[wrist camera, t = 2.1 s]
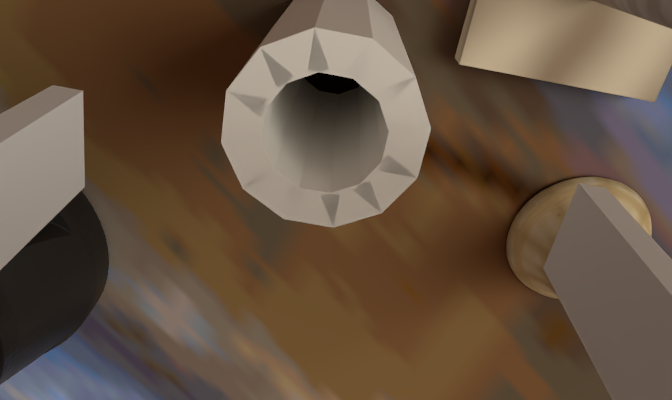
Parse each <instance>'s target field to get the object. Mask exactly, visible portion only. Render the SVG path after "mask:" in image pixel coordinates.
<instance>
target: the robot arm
mask: <svg viewBox="0 0 672 400" xmlns="http://www.w3.org/2000/svg"><path fill="white" fill-rule="evenodd" d="M84 187H85V169H84V115H83V91H82V90H77V89H71V88H66V87H60V86H55V85H52V86H50V87H48V88H47V89H45V90H43V91H41V92H39V93H37V94H36V95H34V96H32V97H30V98H28V99H27V100H25V101H23V102H21V103H19V104H18V105H16V106H14V107H12V108H10V109H8V110H7V111H5V112H3V113H1V114H0V384H2V383H3V382H5V381H6V380H8V379H9V378H10V377H12V376H13V375H15V374H16V373H18V372H19V371H20V370H22V369H23V368H25V367H26V366H27V365H29V364H30V363H32V362H33V361H34V360H36V359H37V358H39V357H40V356H41V355H43V354H44V353H46V352H48V351H50V350H52V349H53V348H55V347H57V346H58V345H60V344H61V343H63V342H64V341H66V340H67V339H68V338H69V337H70V336H71V335H72V334H74V332H75V331H76V330H77V329H78V328H79V327H80V326H81V325H82V323H83V322H84V321H85V319H86V318H87V316H88V315H89V313H90V312H91V310H92V309H93V307H94V306H95V304H96V303H97V301H98V300H99V298H100V296H101V294H102V292H103V290H104V287H105V284H106V280H107V275H108V266H109V257H108V247H107V242H106V238H105V235H104V231H103V228H102V226H101V223H100V221H99V219H98V217H97V215H96V213H95V211H94V209H93V207H92V206H91V204H90V202H89V201H88V199H87V198H86V197H85V195H84V194H83V193H82V191H81V190H82V189H83V188H84ZM543 269H544V271H545V273H546V275H547V277H548V278H549V280H550V282H551V284H552V286H553V288H554V290H555V292H556V294H557V296H558V297H559V299H560V301H561V303H562V305H563V307H564V309H565V311H566V313H567V315H568V317H569V318H570V320H571V322H572V324H573V326H574V328H575V330H576V332H577V334H578V336H579V337H580V339H581V341H582V343H583V345H584V347H585V349H586V351H587V353H588V355H589V357H590V358H591V360H592V362H593V364H594V366H595V368H596V370H597V372H598V374H599V376H600V377H601V379H602V381H603V383H604V385H605V387H606V389H607V391H608V393H609V395H610V397H611V398H612V400H672V259H671V258H670V257H669V256H668V255H667V254H666V253H665V252H664V251H663V250H662V249H661V247H660V246H659V245H658V244H657V243H656V242H655V241H654V240H653V239H652V238H651V236H650V235H649V234H648V233H647V232H646V231H645V230H644V229H643V228H642V227H641V226H640V224H639V223H638V222H637V221H636V220H635V219H634V218H633V217H632V216H631V215H630V213H629V212H628V211H627V210H626V209H625V208H624V207H623V206H622V205H621V204H620V202H619V201H618V200H617V199H616V198H615V197H614V196H613V195H612V194H611V193H610V192H609V190H608V189H607V188H604V187H598V186H593V185H588V184H582V183H578V185H577V188H576V190H575V193H574V195H573V197H572V200H571V202H570V205H569V207H568V209H567V212H566V214H565V217H564V219H563V222H562V224H561V226H560V229H559V231H558V234H557V236H556V238H555V241H554V243H553V246H552V248H551V250H550V253H549V255H548V258H547V260H546V262H545V265H544V267H543Z"/></svg>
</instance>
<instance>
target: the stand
mask: <svg viewBox="0 0 672 400" xmlns="http://www.w3.org/2000/svg"><path fill="white" fill-rule="evenodd" d="M455 59H456V60H457V62H458V63H459V64H460V65H465V66H470V67H476V68H481V69H486V70H491V71H496V72H502V73H507V74H512V75H517V76H522V77H527V78H533V79H538V80H543V81H548V82H553V83H559V84H564V85H569V86H574V87H579V88H584V89H590V90H595V91H600V92H605V93H610V94H616V95H621V96H626V97H631V98H636V99H642V100H647V101H652V102H655V100H656V98H657V96H658V94H659V91H660V89H661V87H662V85H663V83H664V80H665V78H666V76H667V74H668V71H669V69H670V67H671V65H672V0H470V3H469V7H468V10H467V14H466V18H465V21H464V25H463V29H462V32H461V36H460V39H459V43H458V47H457V50H456V54H455Z"/></svg>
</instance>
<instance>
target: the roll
mask: <svg viewBox="0 0 672 400" xmlns="http://www.w3.org/2000/svg"><path fill="white" fill-rule="evenodd" d="M318 72H320V73H325V74H331V75H336V76H341V77H347V78H352V79H354V80H355V81H356V82H357V83H359V84H360V86H359V87H358V88H355V89H352V90H349V91H347V92H344V93H341V94H335V93H330V92H324V91H319V90H318V89H316V88H315V87H314V86H313V85H312V84H310V83H309V82H308V81H307V80H306V79H304V77H307V76H309V75H312V74H315V73H318ZM430 130H431V127H430V124H429V120H428V117H427V114H426V110H425V107H424V103H423V100H422V97H421V93H420V90H419V87H418V83H417V80H416V77H415V74H414V71H413V69H412V66H411V64H410V61H409V58H408V56H407V53H406V51H405V48H404V45H403V43H402V40H401V38H400V35H399V32H398V30H397V27H396V24H395V22H394V19H393V17H392V15H391V14H390V13H389V12H388V11H386V10H385V9H384V8H383V7H382V6H381V5H380V4H379V3H378V2H377V1H376V0H293V1H292V3H291V4H290V5H289V7H288V8H287V9H286V10H285V12H284V13H283V14H282V16H281V17H280V18H279V19H278V21H277V22H276V23H275V25H274V26H273V27H272V29H271V30H270V31H269V33H268V34H267V35H266V37H265V38H264V40H263V41H262V42H261V44H260V45H259V46H258V48H257V49H256V50H255V52H254V53H253V55H252V56H251V57H250V59H249V60H248V61H247V63H246V64H245V65H244V67H243V68H242V70H241V71H240V72H239V74H238V75H237V76H236V78H235V79H234V80H233V82H232V83H231V85H230V86H229V87H228V89H227V90H226V96H225V106H224V117H223V127H222V137H221V144H222V146H223V148H224V150H225V152H226V154H227V156H228V159H229V161H230V163H231V165H232V167H233V169H234V171H235V173H236V176H237V178H238V180H239V182H240V184H241V186H242V188H243V189H244V190H245V191H246V192H248V193H249V194H251V195H252V196H253V197H255V198H256V199H257V200H259V201H260V202H261V203H263V204H264V205H265V206H267V207H268V208H269V209H271V210H272V211H274V212H275V213H276V214H278V215H279V216H280V217H282V218H283V219H287V220H293V221H298V222H304V223H310V224H316V225H321V226H327V227H337V226H340V225H344V224H347V223H351V222H354V221H357V220H361V219H364V218H367V217H371V216H374V215H377V214H381V213H382V212H383V211H384V210H385V209H386V208H387V207H389V206H390V205H391V204H392V203H393V202H394V201H395V200H396V199H397V198H398V197H399V196H400V195H401V194H402V193H403V192H404V191H405V190H406V189H407V188H408V187H409V186H410V185H411V184H412V183H413V182H414V181H415V180H416V179H417V178H418V174H419V171H420V167H421V163H422V160H423V156H424V152H425V149H426V145H427V141H428V138H429V134H430Z"/></svg>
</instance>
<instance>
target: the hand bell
mask: <svg viewBox="0 0 672 400" xmlns="http://www.w3.org/2000/svg"><path fill="white" fill-rule="evenodd" d="M578 183H582V184H588V185H593V186H598V187H604V188H607V189H608V190H609V192H610V193H611V194H612V195H613V196H614V197H615V198H616V199H617V200H618V201H619V202H620V204H621V205H622V206H623V207H624V208H625V209H626V210H627V211H628V212H629V213H630V215H631V216H632V217H633V218H634V219H635V220H636V221H637V222H638V223H639V224H640V226H641V227H642V228H643V229H644V230H645V231H646V232H647V233H648V234H649V235H650V236H651V232H652V229H651V218H650V214H649V211H648V209H647V207H646V205H645V203H644V201H643V200H642V198H641V197H640V196H639V195H638V194H637V193H636V192H635V191H634V190H632V189H631V188H629V187H628V186H626V185H624V184H623V183H621V182H618V181H615V180H612V179H607V178H601V177H580V178H573V179H569V180H565V181H562V182H559V183H557V184H554V185H552V186H550V187H548V188H546V189H544V190H543V191H541V192H540V193H538V194H537V195H535V196H534V197H533V198H532V199H530V200H529V201H528V202H527V203H526V204H525V205H524V206H523V207H522V209H521V210H520V211H519V212H518V214H517V215H516V217H515V219H514V220H513V222H512V224H511V227H510V229H509V232H508V236H507V242H506V252H507V258H508V262H509V265H510V267H511V269H512V271H513V272H514V274H515V275H516V277H517V278H518V279H519V280H520V281H521V282H522V283H523V284H524V285H526V286H527V287H529V288H530V289H532V290H534V291H536V292H538V293H540V294H542V295H545V296H548V297H552V298H557V299H559V297H558V296H557V294H556V292H555V290H554V288H553V286H552V284H551V282H550V280H549V278H548V277H547V275H546V273H545V271H544V269H543V267H544V265H545V262H546V260H547V258H548V255H549V253H550V250H551V248H552V246H553V243H554V241H555V238H556V236H557V234H558V231H559V229H560V226H561V224H562V222H563V219H564V217H565V214H566V212H567V209H568V207H569V205H570V202H571V200H572V197H573V195H574V193H575V190H576V188H577V185H578Z"/></svg>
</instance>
